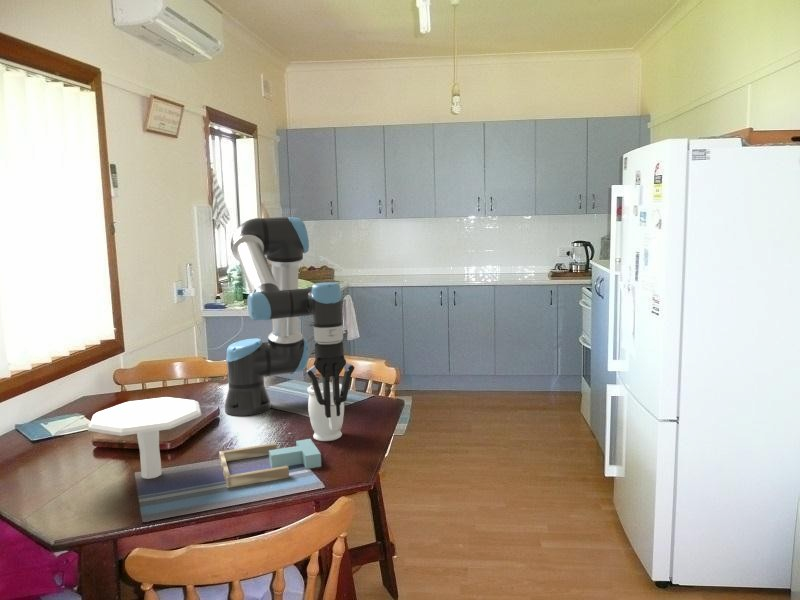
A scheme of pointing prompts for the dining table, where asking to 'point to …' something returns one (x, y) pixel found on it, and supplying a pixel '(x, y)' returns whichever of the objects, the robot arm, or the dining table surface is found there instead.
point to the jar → (323, 416)
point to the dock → (254, 475)
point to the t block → (296, 455)
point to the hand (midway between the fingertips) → (333, 428)
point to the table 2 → (146, 425)
